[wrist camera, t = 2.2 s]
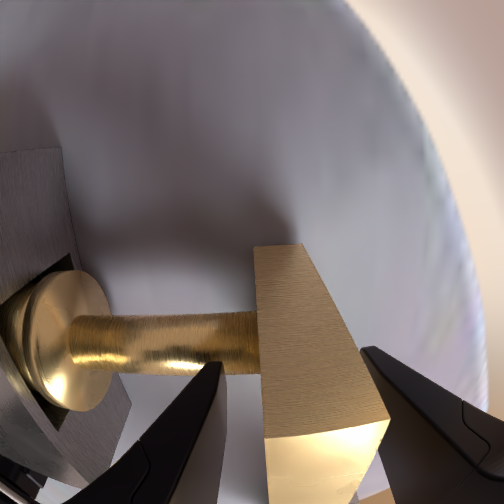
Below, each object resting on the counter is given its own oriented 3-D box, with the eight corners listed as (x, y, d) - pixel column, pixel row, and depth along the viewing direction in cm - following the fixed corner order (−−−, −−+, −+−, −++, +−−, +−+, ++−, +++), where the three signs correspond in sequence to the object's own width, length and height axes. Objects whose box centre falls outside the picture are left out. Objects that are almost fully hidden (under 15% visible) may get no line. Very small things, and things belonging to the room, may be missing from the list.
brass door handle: (34, 344, 13) (-39, 440, 5) (3, 257, 11) (-105, 336, 3) (301, 347, 12) (339, 517, 5) (301, 233, 11) (397, 400, 3)
